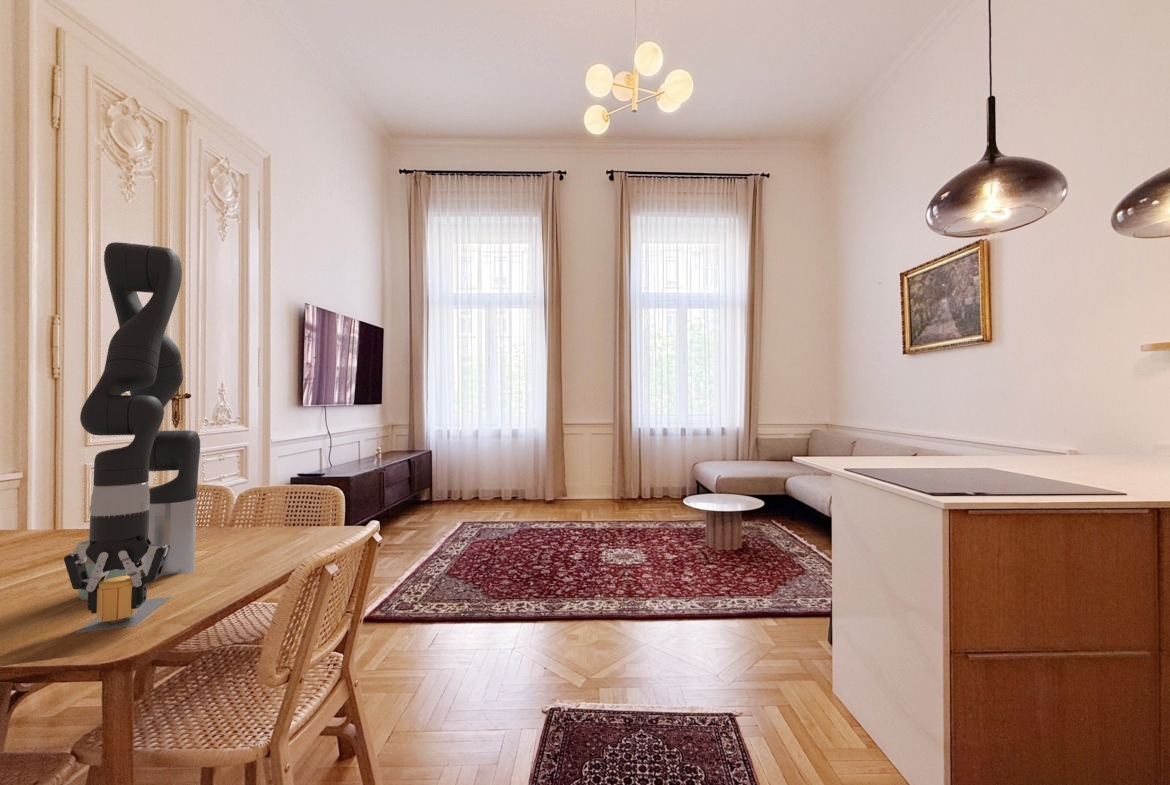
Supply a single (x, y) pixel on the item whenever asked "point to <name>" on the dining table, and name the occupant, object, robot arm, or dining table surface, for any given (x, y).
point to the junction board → (129, 621)
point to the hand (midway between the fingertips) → (117, 608)
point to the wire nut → (114, 599)
